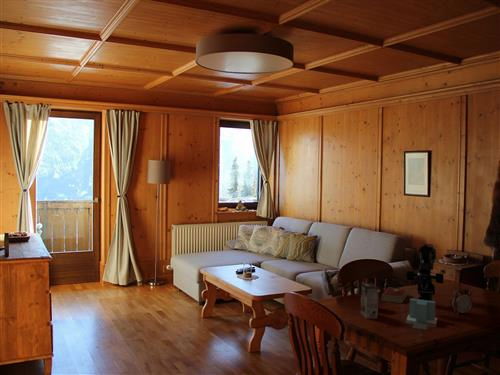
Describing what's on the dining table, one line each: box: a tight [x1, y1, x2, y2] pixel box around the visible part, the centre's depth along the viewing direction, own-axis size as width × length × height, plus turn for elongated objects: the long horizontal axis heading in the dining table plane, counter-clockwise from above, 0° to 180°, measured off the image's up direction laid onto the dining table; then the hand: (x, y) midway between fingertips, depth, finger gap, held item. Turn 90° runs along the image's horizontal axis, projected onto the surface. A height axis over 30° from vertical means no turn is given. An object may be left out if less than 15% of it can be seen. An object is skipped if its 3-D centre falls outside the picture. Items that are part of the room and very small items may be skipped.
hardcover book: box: [380, 286, 409, 304], centre depth 278 cm, size 12×21×4 cm, turn 154°
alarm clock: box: [450, 284, 473, 315], centre depth 249 cm, size 11×5×15 cm, turn 105°
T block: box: [408, 298, 436, 323], centre depth 236 cm, size 9×12×9 cm
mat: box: [405, 314, 438, 330], centre depth 232 cm, size 21×14×1 cm, turn 156°
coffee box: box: [360, 282, 379, 319], centre depth 242 cm, size 9×6×16 cm
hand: (423, 290), depth 245 cm, fingers closed
